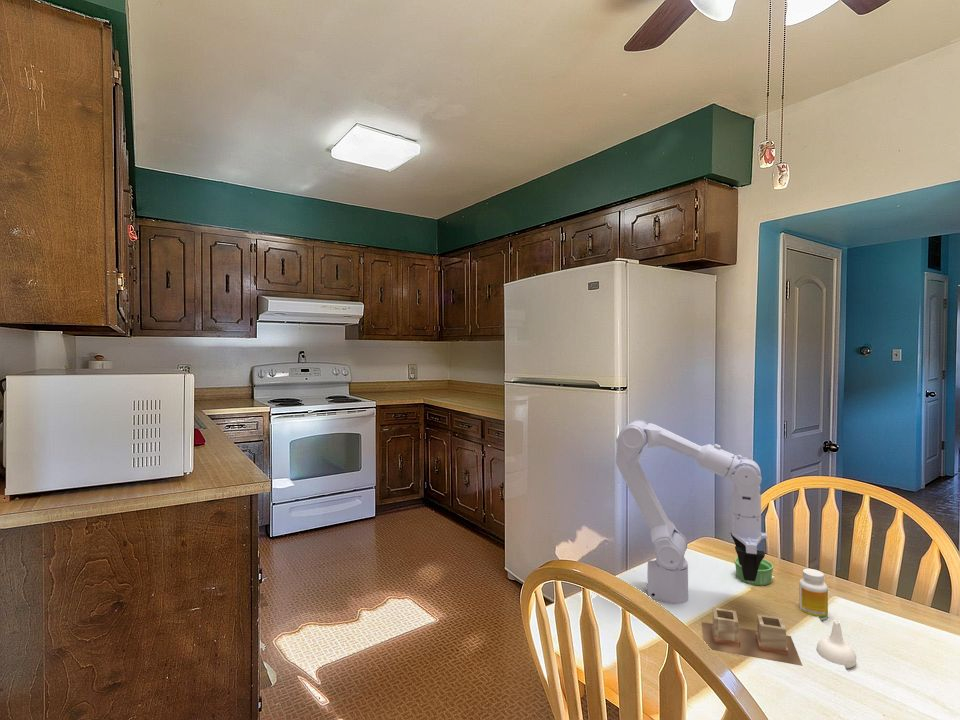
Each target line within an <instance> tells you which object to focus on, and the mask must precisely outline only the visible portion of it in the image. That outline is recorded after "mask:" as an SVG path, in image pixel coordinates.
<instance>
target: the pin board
mask: <svg viewBox="0 0 960 720" xmlns="http://www.w3.org/2000/svg"><path fill="white" fill-rule="evenodd" d="M711 625H712V626H713V623H710V622H705V621H701V629H702V630H701V631H702V641H703V640H704V641H705V642H706V644H708V646H709V647H710V648H711V649H712V650H711V651H717V652H722V653H728V654H733V655H738V656H745V657H750V658H756V659H761V660H762V659H763V660H768V661H773V662H778V663H779V662H780V663H784V664H791V665H795V666H803V664H802V662H801V658H800V656H799V654H798V651H797V648H796V645H795V643H794V641H793V638H792V636H791V635H787V634H786V646H787V649H788V655H781V654H775V653H769V652H764V651H760V650H759V648H758V644H757V641H756V632H757V630H755V629H747V628H742V627H738V629H739V638H740V647H734V646H729V645H723V644H717V643H713V638H712V631H711ZM704 641H703V642H704Z"/></svg>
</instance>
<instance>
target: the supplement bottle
mask: <svg viewBox="0 0 960 720" xmlns="http://www.w3.org/2000/svg"><path fill="white" fill-rule="evenodd" d="M802 577H803V578H802ZM802 577H801V579H800V580H799V583H798V585H799V586H798V587H799V597H798V598H799V600H798V601H799V604H798V605H799V609H800V611H802V612H803V613H805V614H807V615H810V616H813V617H817V618H818V619H819V620H820V621H825V620H827V619H828V618H829V617H828V616H829V606H828V605H829V594H828V593H829V592H828V591H829V587H828V584H827V583H825V574H824V572H822V571H821V570H817V569H814V568H804V569H803V570H802Z"/></svg>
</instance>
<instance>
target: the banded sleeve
mask: <svg viewBox="0 0 960 720" xmlns="http://www.w3.org/2000/svg"><path fill="white" fill-rule="evenodd" d="M756 631H757V632H756V641H757V644H758V648H759V650H760V651H764V652H769V653H775V654H781V655H788V649H787V646H786V635H787V629H786V626H785V623H784V620H783V618H782V617H778V616H771V615H765V614H758V613H757V614H756Z"/></svg>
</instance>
